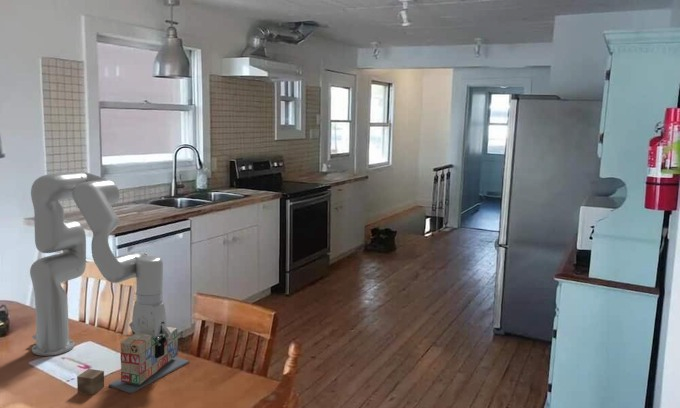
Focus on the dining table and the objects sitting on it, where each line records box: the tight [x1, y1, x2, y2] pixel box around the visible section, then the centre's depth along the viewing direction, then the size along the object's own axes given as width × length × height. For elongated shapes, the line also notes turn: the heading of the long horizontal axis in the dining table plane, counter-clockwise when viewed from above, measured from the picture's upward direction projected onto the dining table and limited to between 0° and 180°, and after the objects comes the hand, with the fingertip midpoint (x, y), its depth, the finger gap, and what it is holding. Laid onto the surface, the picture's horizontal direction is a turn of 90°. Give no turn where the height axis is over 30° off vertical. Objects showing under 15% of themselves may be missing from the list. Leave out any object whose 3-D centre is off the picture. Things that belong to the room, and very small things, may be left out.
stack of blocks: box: [120, 326, 179, 385], centre depth 168 cm, size 21×6×12 cm, turn 167°
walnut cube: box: [76, 368, 105, 396], centre depth 157 cm, size 5×5×5 cm
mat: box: [108, 356, 190, 394], centre depth 168 cm, size 9×24×1 cm, turn 154°
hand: (150, 353), depth 167 cm, fingers closed on stack of blocks, 7 cm apart
